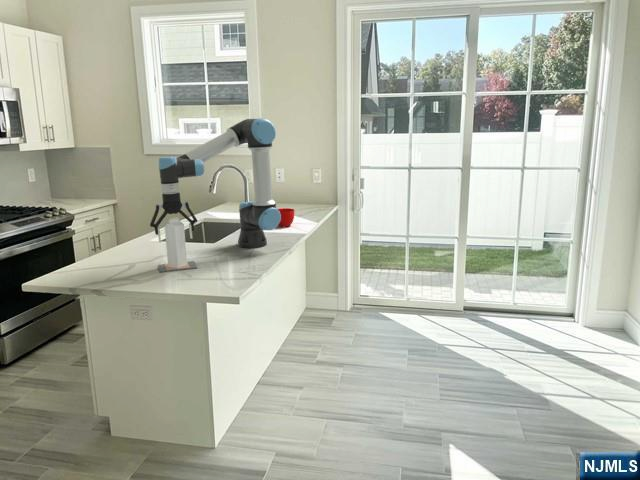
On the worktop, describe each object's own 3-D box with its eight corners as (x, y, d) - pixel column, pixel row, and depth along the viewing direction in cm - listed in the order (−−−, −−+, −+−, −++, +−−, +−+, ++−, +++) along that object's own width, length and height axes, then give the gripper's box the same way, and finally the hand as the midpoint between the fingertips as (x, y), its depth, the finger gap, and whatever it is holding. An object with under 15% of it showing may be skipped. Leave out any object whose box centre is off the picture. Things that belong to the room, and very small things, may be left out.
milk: (168, 267, 227) (163, 218, 222) (177, 263, 232) (172, 216, 227) (178, 268, 224) (173, 219, 219) (187, 264, 229) (183, 217, 224)
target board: (193, 262, 236) (193, 260, 236) (197, 268, 226) (196, 266, 226) (158, 266, 230) (158, 264, 230) (159, 272, 220) (159, 271, 220)
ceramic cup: (297, 222, 321) (296, 207, 318) (293, 228, 304) (292, 212, 302) (277, 222, 322) (276, 207, 320) (272, 228, 306) (271, 212, 303)
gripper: (141, 196, 213) (146, 245, 218) (201, 191, 221) (205, 238, 226) (140, 193, 219) (146, 241, 225) (198, 189, 228) (202, 234, 233)
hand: (175, 239), depth 225 cm, fingers open, 13 cm apart
